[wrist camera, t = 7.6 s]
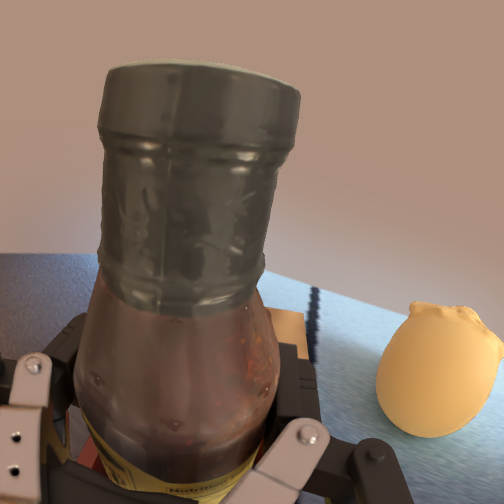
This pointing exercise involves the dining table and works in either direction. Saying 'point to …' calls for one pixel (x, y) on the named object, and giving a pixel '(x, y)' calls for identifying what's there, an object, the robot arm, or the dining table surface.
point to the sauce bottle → (183, 275)
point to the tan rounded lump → (437, 370)
